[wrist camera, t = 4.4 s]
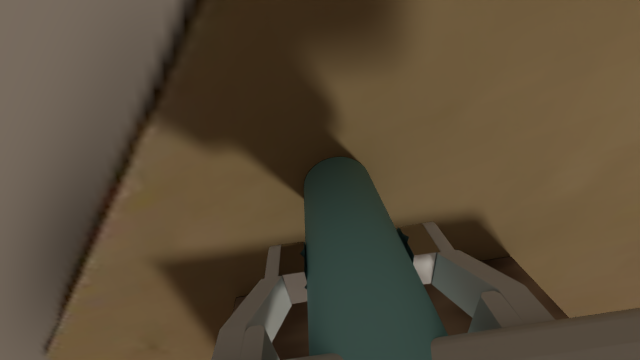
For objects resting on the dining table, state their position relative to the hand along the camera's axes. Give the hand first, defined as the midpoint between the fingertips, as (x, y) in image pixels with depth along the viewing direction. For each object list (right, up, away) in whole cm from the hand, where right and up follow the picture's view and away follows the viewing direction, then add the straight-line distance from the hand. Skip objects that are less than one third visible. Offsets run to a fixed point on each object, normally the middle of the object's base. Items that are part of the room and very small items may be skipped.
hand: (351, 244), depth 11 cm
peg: (0, +2, +4) cm, 5 cm away
